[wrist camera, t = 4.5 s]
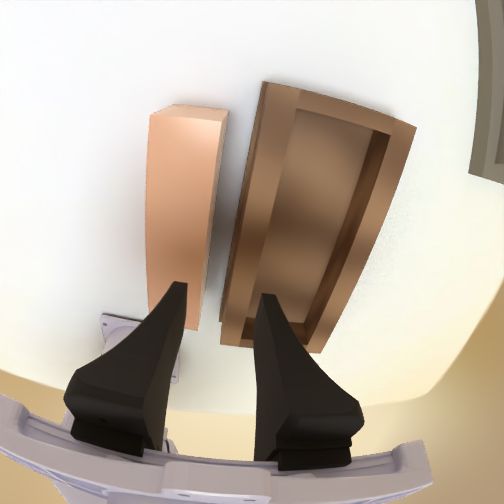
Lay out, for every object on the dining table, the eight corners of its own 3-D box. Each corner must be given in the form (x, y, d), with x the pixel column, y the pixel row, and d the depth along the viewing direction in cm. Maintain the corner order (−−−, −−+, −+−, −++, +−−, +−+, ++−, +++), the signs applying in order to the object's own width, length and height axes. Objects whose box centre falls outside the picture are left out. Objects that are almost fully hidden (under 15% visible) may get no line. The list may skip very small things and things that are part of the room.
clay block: (205, 285, 25) (197, 330, 21) (164, 279, 25) (149, 322, 20) (229, 110, 17) (221, 121, 13) (174, 104, 17) (150, 114, 13)
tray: (316, 324, 27) (323, 353, 24) (219, 313, 26) (216, 343, 23) (394, 118, 17) (420, 128, 14) (262, 81, 16) (266, 82, 13)
